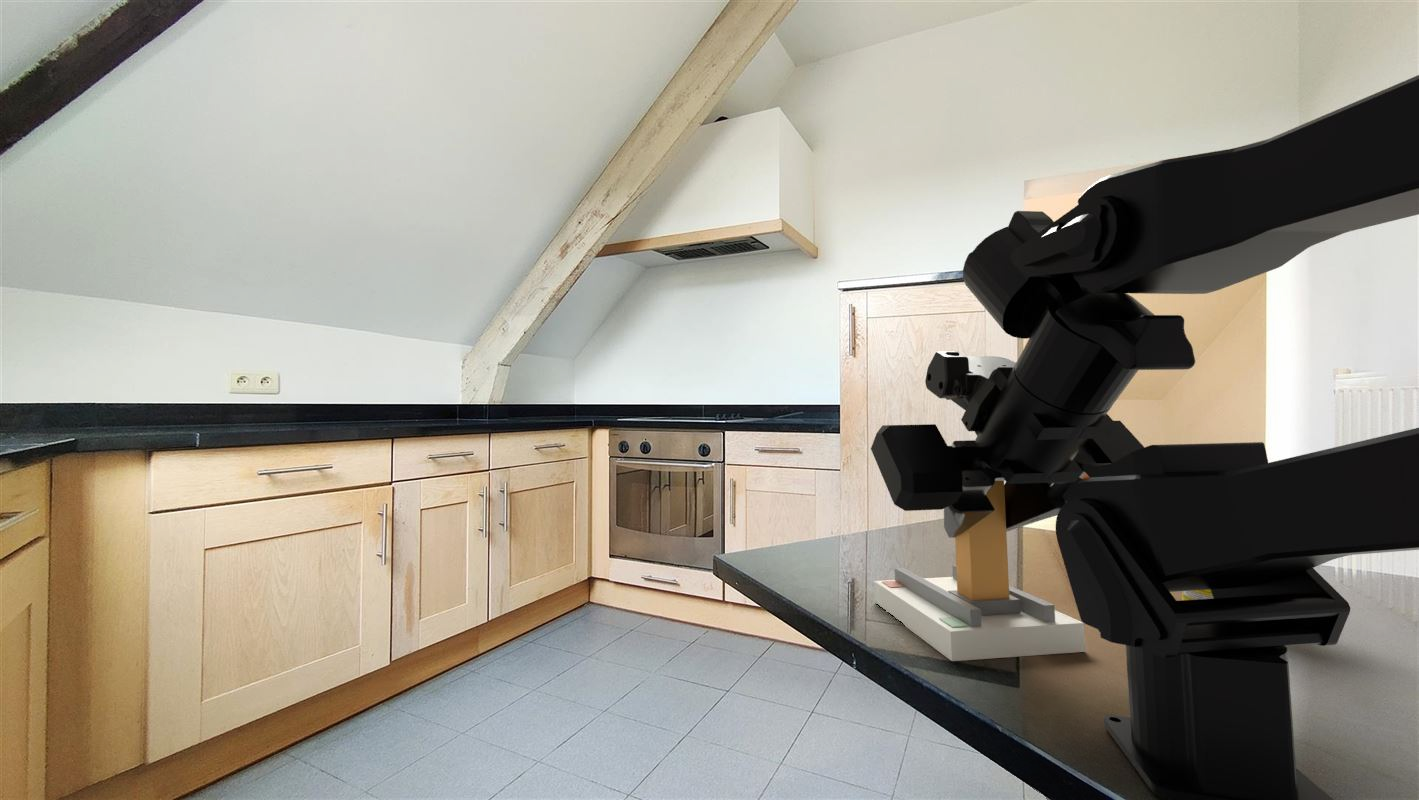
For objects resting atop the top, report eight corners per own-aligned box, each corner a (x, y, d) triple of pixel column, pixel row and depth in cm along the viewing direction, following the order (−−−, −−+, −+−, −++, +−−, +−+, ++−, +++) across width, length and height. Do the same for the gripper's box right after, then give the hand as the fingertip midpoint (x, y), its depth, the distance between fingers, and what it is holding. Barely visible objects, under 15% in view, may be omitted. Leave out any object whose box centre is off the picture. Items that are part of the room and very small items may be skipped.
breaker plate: (1085, 651, 40) (1082, 605, 40) (951, 661, 38) (949, 613, 39) (977, 597, 52) (975, 562, 53) (874, 603, 51) (873, 567, 51)
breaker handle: (1020, 613, 42) (1012, 451, 42) (970, 616, 41) (963, 453, 42) (995, 600, 45) (988, 450, 45) (948, 603, 44) (942, 451, 45)
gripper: (1117, 312, 42) (1025, 454, 52) (876, 310, 39) (830, 460, 50) (1235, 414, 33) (1098, 560, 44) (939, 420, 31) (868, 571, 42)
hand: (968, 531), depth 45 cm, fingers closed on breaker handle, 3 cm apart
